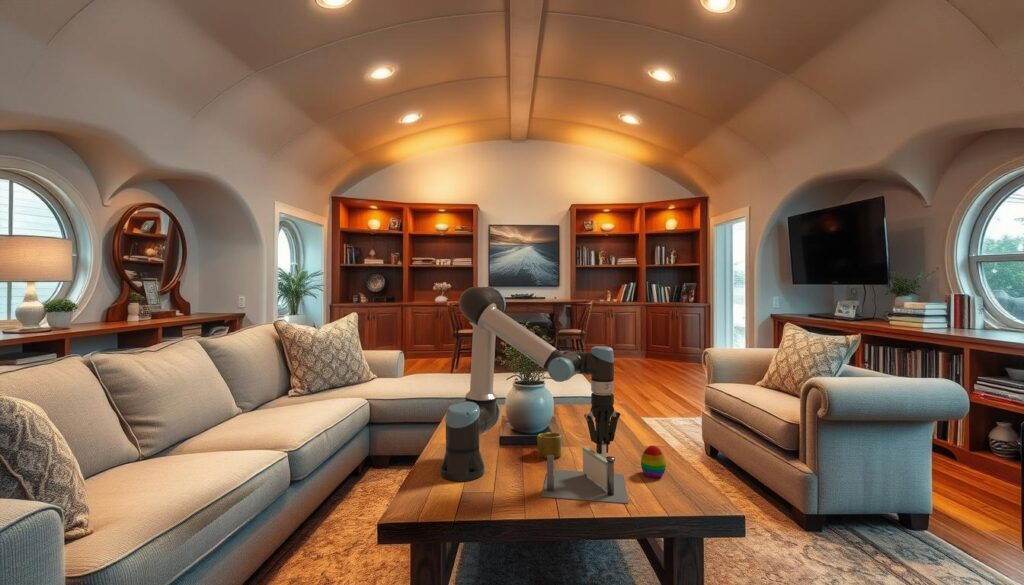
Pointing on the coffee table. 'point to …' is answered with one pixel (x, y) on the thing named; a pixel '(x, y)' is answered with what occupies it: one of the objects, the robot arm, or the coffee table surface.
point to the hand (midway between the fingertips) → (602, 462)
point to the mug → (549, 444)
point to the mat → (584, 488)
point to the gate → (595, 466)
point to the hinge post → (610, 475)
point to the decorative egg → (653, 462)
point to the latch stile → (550, 472)
